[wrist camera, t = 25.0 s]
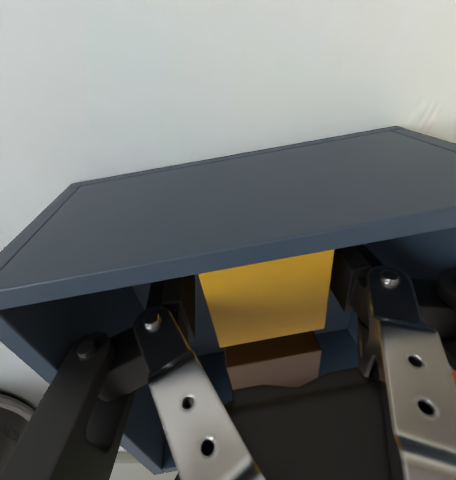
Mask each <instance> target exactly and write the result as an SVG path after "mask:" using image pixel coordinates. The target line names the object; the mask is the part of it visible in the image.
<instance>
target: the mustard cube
mask: <svg viewBox="0 0 456 480" xmlns="http://www.w3.org/2000/svg"><path fill="white" fill-rule="evenodd" d="M333 256H334V250H328V251H323V252H317V253H311V254H306V255H300V256H295V257H289V258H284V259H278V260H273V261H267V262H262V263H256V264H251V265H245V266H240V267H234V268H229V269H223V270H218V271H212V272H207V273H201V274H198V275H199V279H200V282H201V285H202V289H203V292H204V296H205V299H206V303H207V306H208V309H209V313H210V316H211V320H212V323H213V326H214V330H215V333H216V337H217V340H218V344H219V347H220V348H222V347H227V346H233V345H238V344H243V343H249V342H254V341H260V340H265V339H270V338H276V337H281V336H287V335H292V334H297V333H303V332H308V331H314V330H319V329H324V328H325V320H326V312H327V304H328V296H329V288H330V280H331V272H332V264H333Z"/></svg>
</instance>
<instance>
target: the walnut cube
mask: <svg viewBox="0 0 456 480" xmlns="http://www.w3.org/2000/svg"><path fill="white" fill-rule="evenodd" d="M224 352H225V362H226V369H227V373H228V376H229V379H230V383H231V386H232V390H235V389H240V388H246V387H251V386H257V385H262V384H264V385H275V386H285V387H300V386H302V385H304V384H306V383H308V382H310V381H312V380H314V379H316V378H318V377H319V369H320V361H321V353H322V349H321V347H320V345H319V342H318V340H317V338H316V336H315V334H314V331H308V332H303V333H297V334H292V335H287V336H281V337H276V338H270V339H265V340H260V341H254V342H249V343H243V344H238V345H233V346H227V347H224Z"/></svg>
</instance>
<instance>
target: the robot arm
mask: <svg viewBox="0 0 456 480" xmlns="http://www.w3.org/2000/svg"><path fill="white" fill-rule="evenodd" d="M330 289H331V291H332V293H333V294H334V296H335V298H336V299H337V301H338V303H339V304H340V306H341V308H342V309H343V311H344V312H349V311H355V313H356V314H357V319H356V330H357V348H358V367H355V368H350V369H344V370H339V371H333V372H328V373H326V374H324V375H322V376H320V377H318V378H316V379H314V380H312V381H310V382H308V383H306V384H304V385H302V386H300V387H285V386H275V385H264V384H262V385H257V386H251V387H246V388H240V389H235V390H232V399H233V400H231V401H229V402H227V403H226V404H224V405H223V404H222V402H221V400H220V398H219V396H218V395H217V393H216V391H215V389H214V387H213V386H212V384H211V382H210V380H209V378H208V376H207V375H206V373H205V371H204V369H203V367H202V366H201V364H200V362H199V360H198V358H197V357H196V355H195V353H194V352H193V350H191V348H190V347H189V345H188V340H192V339H195V275H190V276H185V277H179V278H174V279H168V280H163V281H157V282H151V285H150V290H149V295H148V300H147V305H146V310H145V311H143V312H142V313H141V314H140V315H139V316H138V317H137V318H136V320H135V322H134V324H133V327H131V328H129V329H128V330H126V331H123V332H121V333H119V334H117V335H115V336H113V337H110V338H109V336H108V335H107V334H105V333H103V332H94V333H91V334H88V335H86V336H84V337H83V338H81V339H80V340H79V341H78V342H76V343H75V344H74V346H73V347H72V348H71V350H70V351H69V353H68V355H67V356H66V358H65V360H64V361H63V363H62V365H61V367H60V368H59V370H58V372H57V374H56V375H55V377H54V379H53V380H52V382H51V384H50V386H49V387H48V389H47V391H46V393H45V394H44V396H43V398H42V400H41V401H40V403H39V405H38V406H37V408H36V410H35V411H34V410H33V409H32V408H31V407H29V406H28V405H26V404H25V403H23V402H21V401H19V400H17V399H14V398H12V397H9V396H6V395H3V394H0V480H109V478H110V475H111V472H112V469H113V465H114V462H115V459H116V456H117V453H118V449H119V446H120V443H121V440H122V436H123V433H124V430H125V427H126V423H127V420H128V417H129V414H130V410H131V407H132V404H133V401H134V397H135V394H136V391H137V389H138V388H140V387H142V386H144V385H146V384H147V383H148V384H149V387H150V390H151V393H152V396H153V399H154V402H155V405H156V408H157V411H158V414H159V417H160V420H161V423H162V426H163V429H164V432H165V435H166V438H167V441H168V444H169V447H170V450H171V453H172V456H173V459H174V462H175V465H176V468H177V471H178V474H177V476H176V478H175V480H456V384H455V381H454V378H453V375H452V372H451V369H450V366H451V367H452V368H453V369H454V370H455V371H456V269H447V270H443V271H441V272H440V273H439V274H438V277H437V279H436V280H430V279H414V278H410V277H409V276H408V275H407V274H406V273H405V272H403V271H402V270H400V269H398V268H395V267H391V266H384V265H383V264H382V263H381V262H380V260H379V259H378V258H377V257H376V256H375V255H374V254H373V253H372V252H371V251H370V250H369V249H368V248H367V247H366V246H364V244H361V245H356V246H350V247H345V248H339V249H334V256H333V264H332V272H331V280H330ZM449 365H450V366H449Z"/></svg>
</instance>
